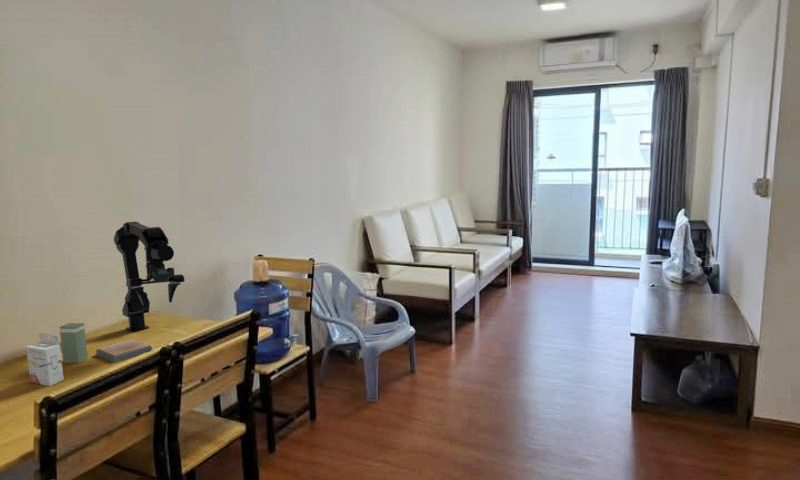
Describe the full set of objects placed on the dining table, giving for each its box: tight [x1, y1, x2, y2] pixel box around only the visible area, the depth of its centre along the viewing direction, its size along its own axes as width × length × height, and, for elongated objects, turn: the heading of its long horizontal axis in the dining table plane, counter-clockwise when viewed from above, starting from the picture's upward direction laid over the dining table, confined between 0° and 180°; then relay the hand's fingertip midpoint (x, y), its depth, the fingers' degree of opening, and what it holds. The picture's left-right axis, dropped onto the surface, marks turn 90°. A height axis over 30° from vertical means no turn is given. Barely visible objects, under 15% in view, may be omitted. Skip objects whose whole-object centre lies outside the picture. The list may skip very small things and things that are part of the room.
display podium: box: [95, 338, 153, 364], centre depth 185 cm, size 13×13×2 cm
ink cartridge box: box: [25, 332, 65, 387], centre depth 160 cm, size 9×5×15 cm, turn 71°
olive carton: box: [59, 322, 89, 364], centre depth 178 cm, size 6×5×12 cm
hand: (157, 304), depth 192 cm, fingers open, 9 cm apart
